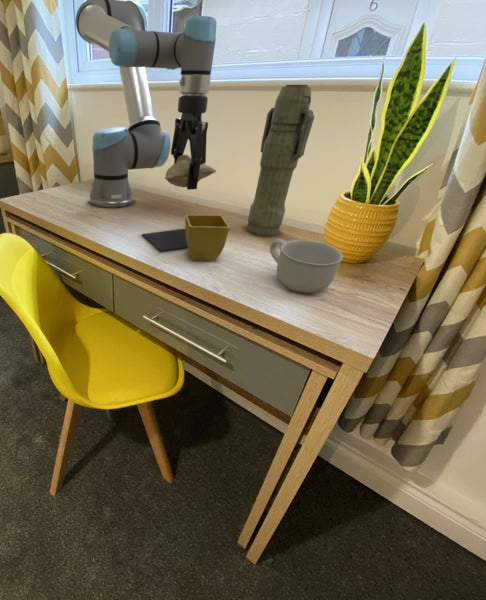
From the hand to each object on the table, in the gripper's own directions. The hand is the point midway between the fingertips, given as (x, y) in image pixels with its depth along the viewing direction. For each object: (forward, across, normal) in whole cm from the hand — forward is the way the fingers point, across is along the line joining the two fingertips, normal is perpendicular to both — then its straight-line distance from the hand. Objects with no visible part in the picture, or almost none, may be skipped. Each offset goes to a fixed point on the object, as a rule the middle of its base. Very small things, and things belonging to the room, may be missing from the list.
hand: (184, 185), depth 97 cm
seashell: (0, 0, 0) cm, 0 cm away
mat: (+10, +16, -9) cm, 21 cm away
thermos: (+10, +18, +17) cm, 26 cm away
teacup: (+10, +44, +3) cm, 46 cm away
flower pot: (+10, +27, -9) cm, 30 cm away
